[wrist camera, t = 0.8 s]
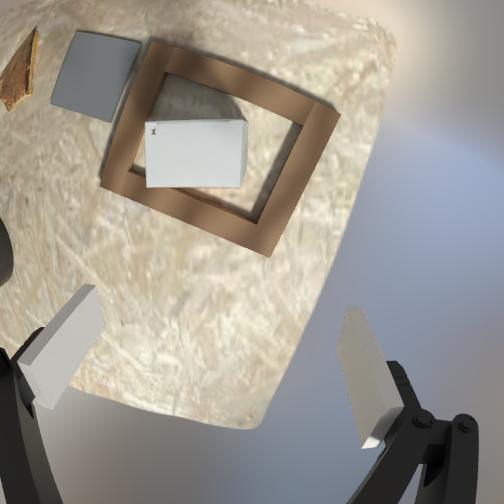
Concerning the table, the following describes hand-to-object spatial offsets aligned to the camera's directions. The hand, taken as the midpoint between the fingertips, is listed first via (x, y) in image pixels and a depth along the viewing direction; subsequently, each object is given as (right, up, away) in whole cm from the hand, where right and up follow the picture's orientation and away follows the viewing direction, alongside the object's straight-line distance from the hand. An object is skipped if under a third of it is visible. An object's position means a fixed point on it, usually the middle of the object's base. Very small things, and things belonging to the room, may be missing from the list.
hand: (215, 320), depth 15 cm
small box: (-3, +15, +17) cm, 23 cm away
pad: (-17, +25, +13) cm, 33 cm away
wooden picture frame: (-3, +15, +17) cm, 23 cm away
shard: (-31, +29, +13) cm, 44 cm away
